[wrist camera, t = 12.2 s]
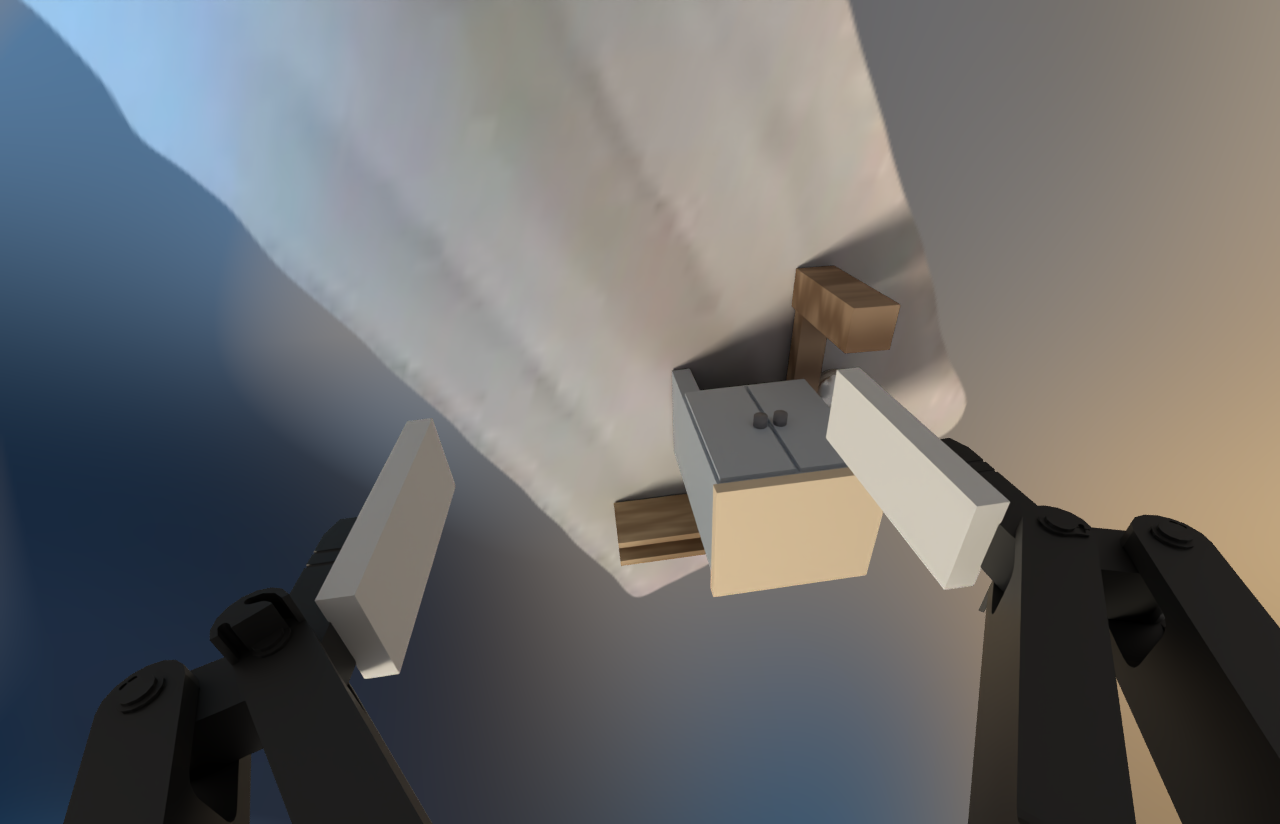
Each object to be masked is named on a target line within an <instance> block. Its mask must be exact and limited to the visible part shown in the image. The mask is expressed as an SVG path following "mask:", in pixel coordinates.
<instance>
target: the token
mask: <svg viewBox="0 0 1280 824" xmlns="http://www.w3.org/2000/svg"><path fill="white" fill-rule="evenodd" d="M837 370H840V369H830V370H827V371H824V372H822V373H821V375H820V381H819V386H818V392H817V394H818V395H819V396H820V397H821V398H822V400H823V401H824V402H825V403H826V404H827V405H828V406H829V407H830V409H831V403H832V397H833V391H834V385H835V379H836V372H837Z"/></svg>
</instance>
